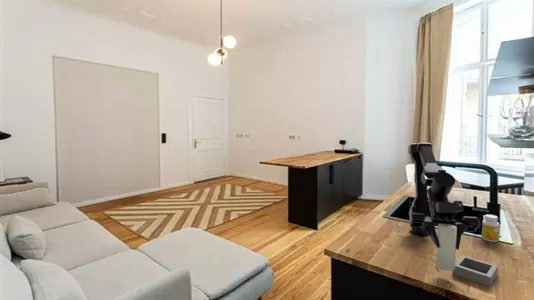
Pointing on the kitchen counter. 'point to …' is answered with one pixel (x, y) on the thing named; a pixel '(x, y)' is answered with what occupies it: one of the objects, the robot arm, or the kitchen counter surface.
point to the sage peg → (446, 246)
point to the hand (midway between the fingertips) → (447, 248)
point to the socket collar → (475, 275)
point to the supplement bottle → (490, 228)
